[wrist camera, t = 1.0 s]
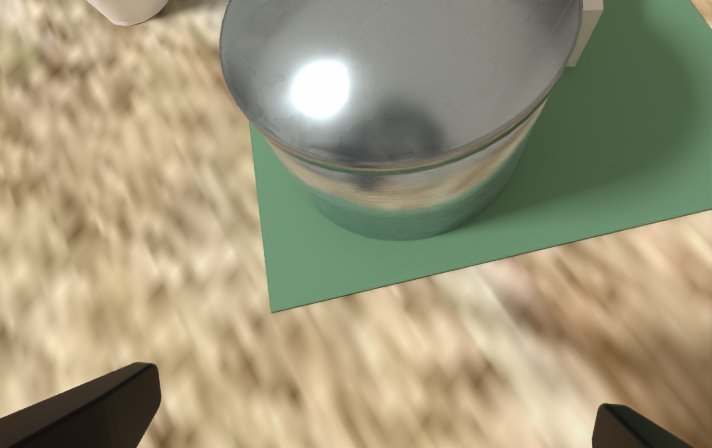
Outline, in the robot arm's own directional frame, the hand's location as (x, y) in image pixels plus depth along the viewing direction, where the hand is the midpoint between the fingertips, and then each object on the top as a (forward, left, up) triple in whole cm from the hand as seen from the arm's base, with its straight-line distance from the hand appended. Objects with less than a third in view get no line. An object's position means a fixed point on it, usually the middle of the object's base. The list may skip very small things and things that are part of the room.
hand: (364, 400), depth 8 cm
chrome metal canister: (+14, -3, -12) cm, 18 cm away
